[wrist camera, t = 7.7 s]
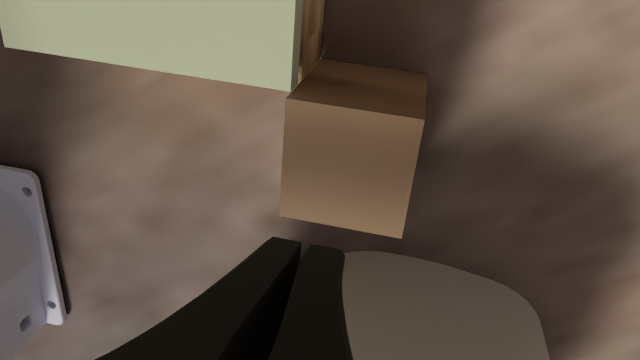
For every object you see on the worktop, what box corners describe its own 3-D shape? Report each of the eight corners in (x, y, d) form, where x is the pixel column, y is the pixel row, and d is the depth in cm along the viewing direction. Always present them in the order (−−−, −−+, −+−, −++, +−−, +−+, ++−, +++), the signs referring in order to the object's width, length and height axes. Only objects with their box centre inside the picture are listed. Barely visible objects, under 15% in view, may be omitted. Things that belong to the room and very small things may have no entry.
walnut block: (409, 171, 20) (401, 238, 16) (312, 155, 21) (279, 215, 16) (428, 73, 18) (425, 119, 14) (321, 58, 19) (285, 98, 15)
